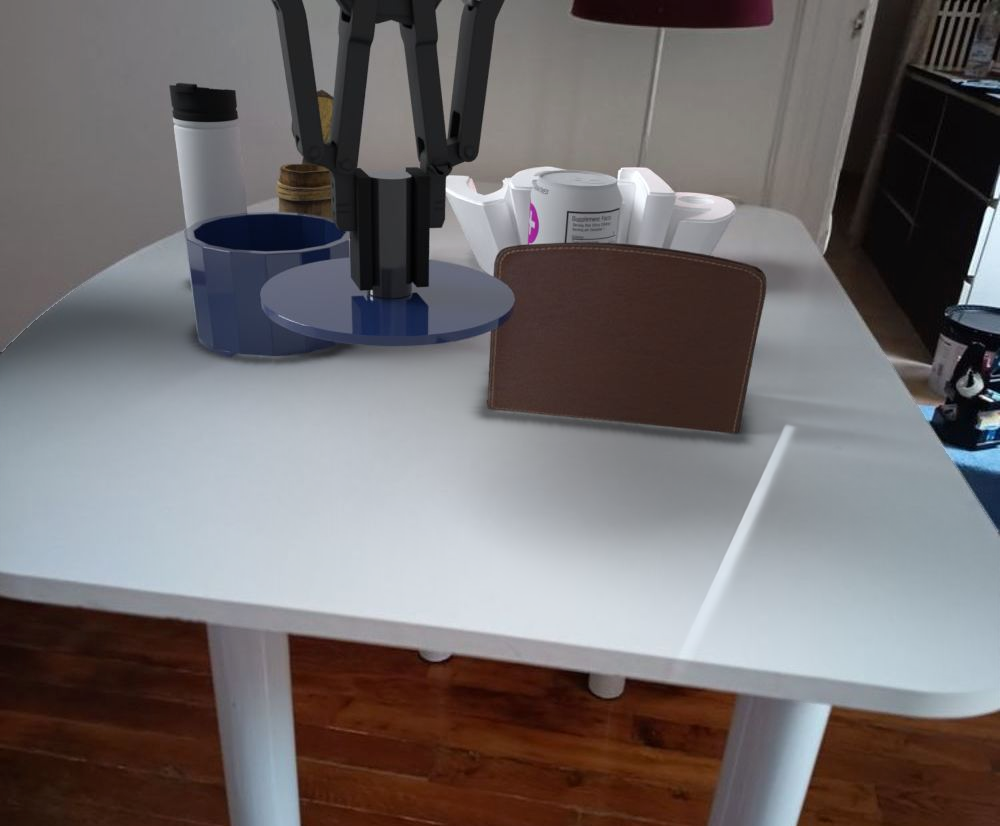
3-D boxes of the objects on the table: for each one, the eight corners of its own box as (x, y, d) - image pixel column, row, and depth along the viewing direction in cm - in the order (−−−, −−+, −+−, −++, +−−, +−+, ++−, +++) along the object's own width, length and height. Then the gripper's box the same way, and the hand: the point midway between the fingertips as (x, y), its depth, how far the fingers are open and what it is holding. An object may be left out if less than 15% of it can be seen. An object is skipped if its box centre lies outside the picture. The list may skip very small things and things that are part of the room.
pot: (163, 341, 83) (148, 236, 78) (264, 298, 95) (255, 205, 90) (296, 373, 78) (288, 263, 73) (385, 324, 90) (383, 226, 85)
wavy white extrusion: (431, 279, 103) (432, 182, 98) (444, 242, 117) (445, 155, 112) (741, 297, 103) (759, 200, 97) (716, 257, 117) (731, 171, 112)
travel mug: (180, 289, 96) (152, 81, 86) (212, 272, 102) (189, 75, 92) (235, 296, 95) (213, 86, 85) (263, 278, 101) (246, 80, 91)
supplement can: (512, 346, 86) (521, 181, 79) (535, 319, 93) (545, 165, 85) (596, 359, 84) (614, 191, 77) (613, 331, 91) (631, 174, 83)
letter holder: (738, 440, 71) (774, 259, 64) (485, 415, 73) (492, 236, 65) (728, 390, 79) (758, 225, 72) (502, 368, 81) (510, 206, 74)
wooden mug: (366, 250, 112) (362, 91, 103) (345, 283, 101) (338, 106, 92) (294, 246, 112) (283, 87, 103) (265, 278, 101) (250, 101, 92)
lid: (206, 322, 54) (190, 177, 50) (352, 260, 66) (348, 140, 62) (440, 378, 48) (444, 221, 44) (551, 299, 61) (562, 171, 57)
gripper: (225, -223, 39) (266, 310, 51) (565, -182, 44) (531, 293, 56) (209, -201, 45) (250, 270, 57) (511, -168, 50) (490, 259, 62)
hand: (389, 281), depth 56 cm, fingers closed on lid, 3 cm apart
